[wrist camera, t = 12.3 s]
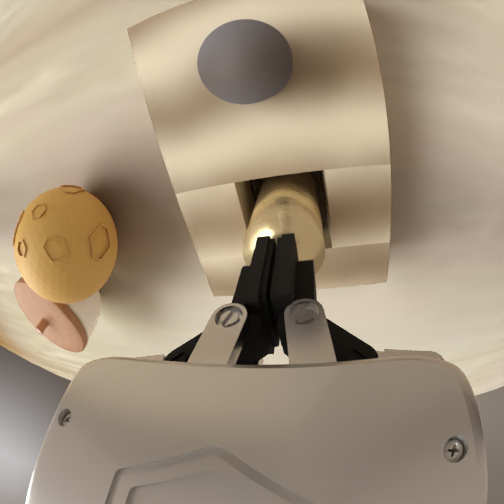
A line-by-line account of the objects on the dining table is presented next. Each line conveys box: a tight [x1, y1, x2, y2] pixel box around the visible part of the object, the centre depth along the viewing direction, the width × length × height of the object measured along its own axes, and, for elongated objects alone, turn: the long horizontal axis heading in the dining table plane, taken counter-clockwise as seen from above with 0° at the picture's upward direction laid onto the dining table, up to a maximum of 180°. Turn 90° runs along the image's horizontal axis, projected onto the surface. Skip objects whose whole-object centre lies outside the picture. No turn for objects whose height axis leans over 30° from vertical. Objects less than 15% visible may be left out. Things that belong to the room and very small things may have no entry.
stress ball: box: [13, 185, 118, 304], centre depth 19 cm, size 10×10×10 cm
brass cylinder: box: [242, 172, 325, 274], centre depth 17 cm, size 4×4×8 cm
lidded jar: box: [14, 277, 101, 352], centre depth 25 cm, size 11×11×9 cm
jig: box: [127, 0, 391, 296], centre depth 15 cm, size 20×13×7 cm, turn 12°
